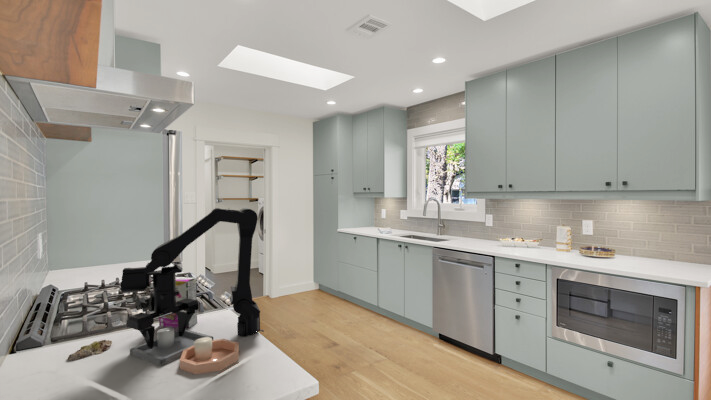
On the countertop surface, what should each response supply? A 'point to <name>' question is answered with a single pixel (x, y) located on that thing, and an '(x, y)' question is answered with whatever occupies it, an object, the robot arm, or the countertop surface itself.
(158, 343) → the pebble grey
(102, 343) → the mineral rock
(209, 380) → the countertop surface
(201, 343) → the pebble sand
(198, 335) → the tray
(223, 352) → the bowl
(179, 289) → the candy bar box
